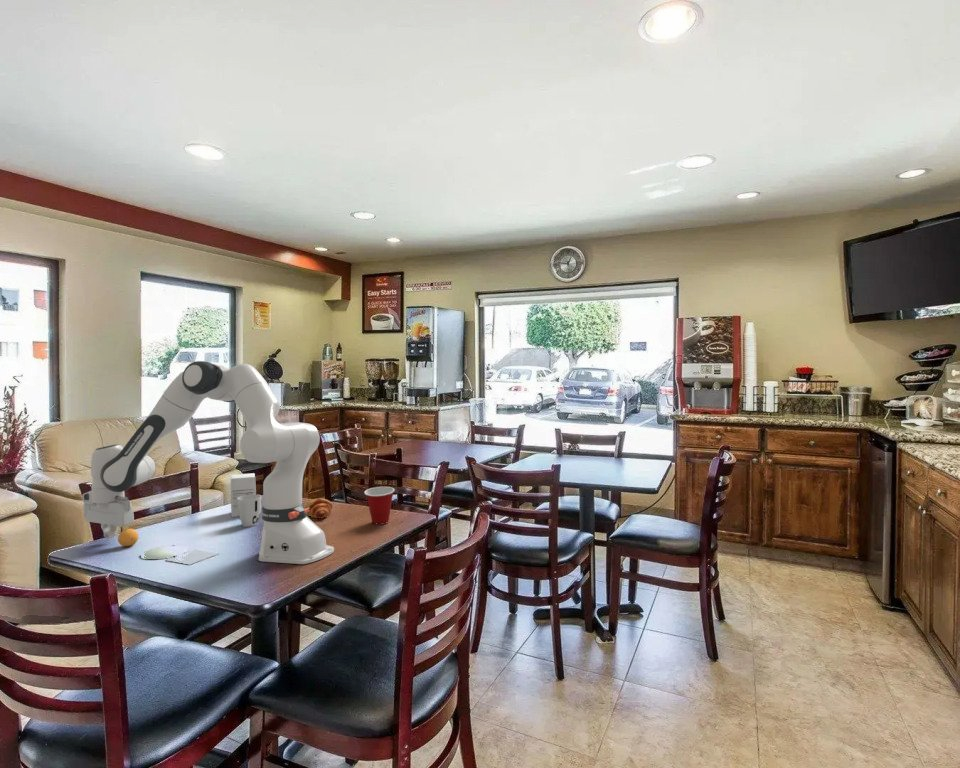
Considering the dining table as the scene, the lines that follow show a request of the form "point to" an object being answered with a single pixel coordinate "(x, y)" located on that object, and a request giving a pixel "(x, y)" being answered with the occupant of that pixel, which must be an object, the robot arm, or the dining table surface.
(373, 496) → the plastic cup
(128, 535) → the ball
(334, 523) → the dining table surface
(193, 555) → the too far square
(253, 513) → the cup
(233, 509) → the supplement box
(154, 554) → the disc
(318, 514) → the croissant
